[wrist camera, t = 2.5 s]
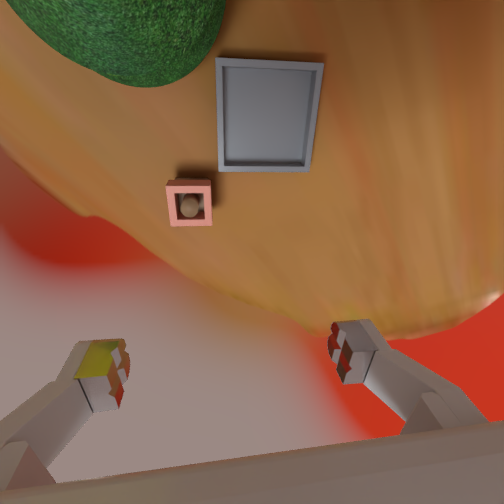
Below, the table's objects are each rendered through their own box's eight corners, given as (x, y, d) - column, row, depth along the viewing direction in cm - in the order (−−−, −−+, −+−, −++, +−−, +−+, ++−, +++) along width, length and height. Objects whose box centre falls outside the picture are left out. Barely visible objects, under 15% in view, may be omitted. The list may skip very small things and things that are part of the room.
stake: (208, 177, 43) (206, 191, 37) (209, 207, 45) (208, 225, 39) (175, 177, 42) (168, 191, 36) (178, 208, 45) (173, 225, 39)
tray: (316, 65, 37) (324, 63, 34) (303, 167, 44) (309, 172, 41) (215, 59, 35) (215, 57, 33) (218, 166, 42) (218, 171, 40)
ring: (210, 179, 40) (210, 185, 37) (212, 217, 43) (212, 225, 40) (168, 179, 39) (165, 186, 37) (173, 218, 42) (170, 226, 40)
